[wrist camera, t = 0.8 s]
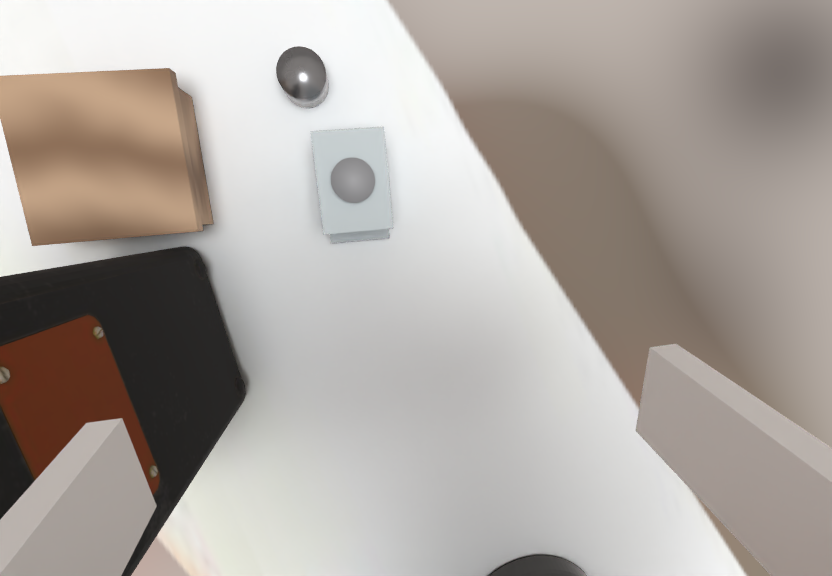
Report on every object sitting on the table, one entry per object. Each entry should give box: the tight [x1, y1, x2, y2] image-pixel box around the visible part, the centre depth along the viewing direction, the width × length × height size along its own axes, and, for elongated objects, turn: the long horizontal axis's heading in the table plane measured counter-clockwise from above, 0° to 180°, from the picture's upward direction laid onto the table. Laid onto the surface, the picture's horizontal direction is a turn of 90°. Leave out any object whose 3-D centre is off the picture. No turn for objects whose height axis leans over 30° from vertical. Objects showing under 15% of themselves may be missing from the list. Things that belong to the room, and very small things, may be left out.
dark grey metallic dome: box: [276, 47, 329, 108], centre depth 33 cm, size 4×4×3 cm
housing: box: [311, 127, 393, 243], centre depth 32 cm, size 9×5×8 cm, turn 5°
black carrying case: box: [0, 247, 245, 576], centre depth 24 cm, size 16×9×25 cm, turn 13°
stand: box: [0, 68, 213, 246], centre depth 31 cm, size 11×11×5 cm
